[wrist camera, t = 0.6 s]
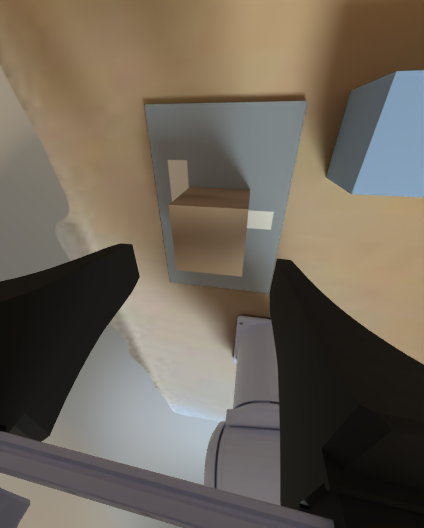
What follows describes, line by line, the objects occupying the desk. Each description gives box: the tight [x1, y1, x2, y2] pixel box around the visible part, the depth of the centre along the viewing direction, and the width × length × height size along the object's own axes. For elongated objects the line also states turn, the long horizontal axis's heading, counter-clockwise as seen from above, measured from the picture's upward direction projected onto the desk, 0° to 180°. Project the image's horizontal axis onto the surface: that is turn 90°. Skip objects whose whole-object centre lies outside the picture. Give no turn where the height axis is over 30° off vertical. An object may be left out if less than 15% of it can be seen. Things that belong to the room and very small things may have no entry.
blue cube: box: [326, 70, 424, 197], centre depth 12 cm, size 5×5×5 cm
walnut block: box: [169, 187, 250, 277], centre depth 16 cm, size 5×5×5 cm
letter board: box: [144, 101, 307, 293], centre depth 18 cm, size 16×11×1 cm
